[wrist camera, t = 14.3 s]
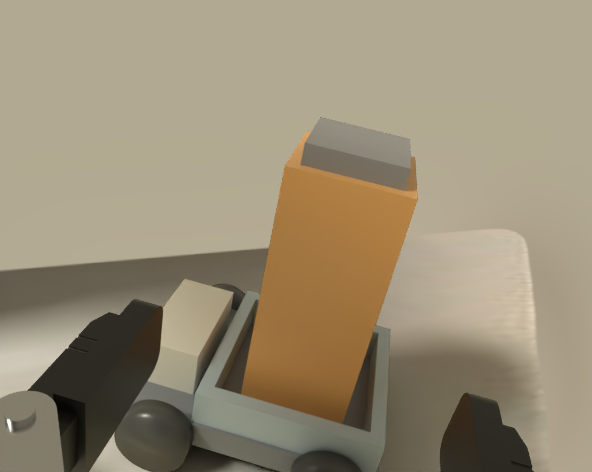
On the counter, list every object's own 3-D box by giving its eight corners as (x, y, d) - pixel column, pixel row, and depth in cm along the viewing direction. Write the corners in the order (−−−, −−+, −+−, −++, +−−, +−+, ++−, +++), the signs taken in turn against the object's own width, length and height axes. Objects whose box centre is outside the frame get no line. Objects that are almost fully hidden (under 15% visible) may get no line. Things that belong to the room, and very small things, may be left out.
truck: (104, 456, 21) (106, 379, 19) (192, 318, 30) (200, 254, 28) (361, 536, 20) (392, 464, 18) (375, 369, 29) (397, 308, 27)
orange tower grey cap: (339, 433, 22) (425, 177, 16) (238, 404, 22) (289, 142, 17) (349, 364, 26) (421, 138, 20) (263, 340, 26) (311, 111, 21)
